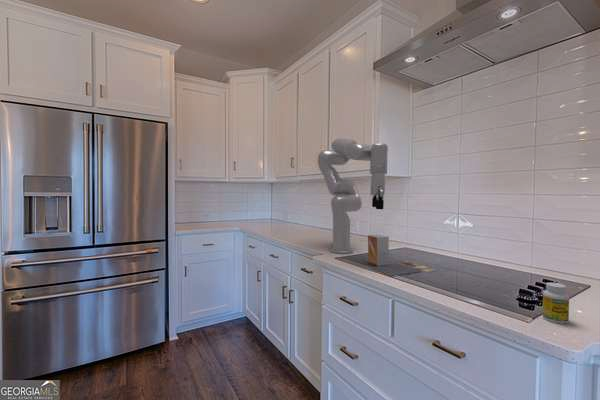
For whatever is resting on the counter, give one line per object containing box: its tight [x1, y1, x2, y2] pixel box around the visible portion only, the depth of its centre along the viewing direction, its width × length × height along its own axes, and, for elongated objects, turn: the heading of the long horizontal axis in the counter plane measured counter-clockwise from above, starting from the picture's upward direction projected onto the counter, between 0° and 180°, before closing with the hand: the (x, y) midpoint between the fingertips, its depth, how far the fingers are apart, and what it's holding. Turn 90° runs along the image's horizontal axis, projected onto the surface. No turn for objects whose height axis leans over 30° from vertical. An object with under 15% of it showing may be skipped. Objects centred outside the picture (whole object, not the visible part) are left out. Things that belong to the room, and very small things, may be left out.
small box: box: [367, 234, 390, 266], centre depth 137 cm, size 8×6×13 cm
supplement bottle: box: [542, 282, 570, 325], centre depth 79 cm, size 5×5×10 cm
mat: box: [369, 263, 422, 278], centre depth 127 cm, size 14×16×1 cm
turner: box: [400, 259, 436, 273], centre depth 132 cm, size 17×5×1 cm, turn 23°
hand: (377, 208), depth 135 cm, fingers open, 9 cm apart
